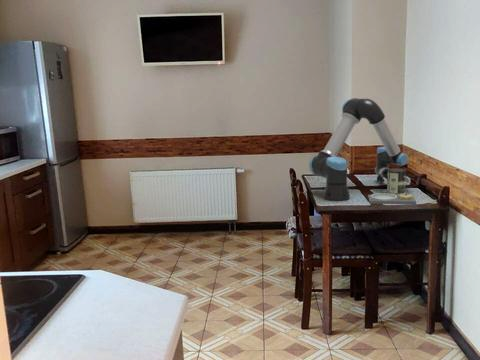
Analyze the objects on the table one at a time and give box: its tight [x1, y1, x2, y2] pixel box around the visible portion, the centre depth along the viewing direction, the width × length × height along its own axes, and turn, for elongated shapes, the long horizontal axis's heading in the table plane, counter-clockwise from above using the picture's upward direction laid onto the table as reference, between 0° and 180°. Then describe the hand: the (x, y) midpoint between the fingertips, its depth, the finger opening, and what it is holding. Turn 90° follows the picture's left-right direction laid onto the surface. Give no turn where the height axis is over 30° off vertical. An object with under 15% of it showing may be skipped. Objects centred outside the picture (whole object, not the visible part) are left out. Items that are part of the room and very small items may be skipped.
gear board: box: [367, 192, 417, 205], centre depth 259 cm, size 24×14×4 cm, turn 80°
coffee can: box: [386, 167, 407, 195], centre depth 274 cm, size 10×10×14 cm
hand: (398, 181), depth 271 cm, fingers open, 13 cm apart
